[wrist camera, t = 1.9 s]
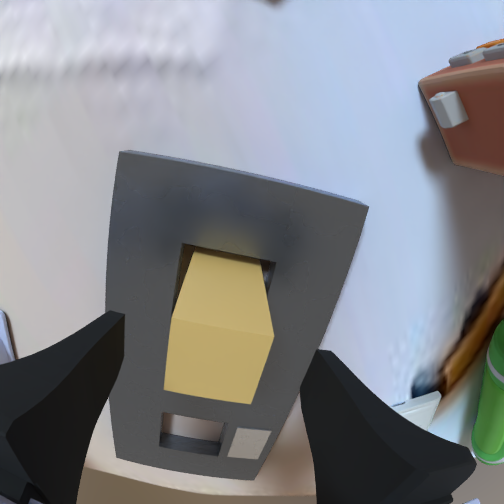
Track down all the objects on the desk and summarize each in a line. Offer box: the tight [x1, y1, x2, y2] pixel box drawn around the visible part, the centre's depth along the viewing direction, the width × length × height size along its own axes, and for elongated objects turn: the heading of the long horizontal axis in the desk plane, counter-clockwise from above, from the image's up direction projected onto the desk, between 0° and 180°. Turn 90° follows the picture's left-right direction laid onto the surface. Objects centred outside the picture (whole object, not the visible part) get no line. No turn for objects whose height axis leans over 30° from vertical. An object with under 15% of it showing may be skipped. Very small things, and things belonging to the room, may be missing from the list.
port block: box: [105, 150, 369, 480], centre depth 18 cm, size 12×24×2 cm, turn 167°
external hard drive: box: [389, 391, 441, 431], centre depth 24 cm, size 2×8×12 cm
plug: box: [164, 247, 274, 404], centre depth 14 cm, size 3×3×7 cm
